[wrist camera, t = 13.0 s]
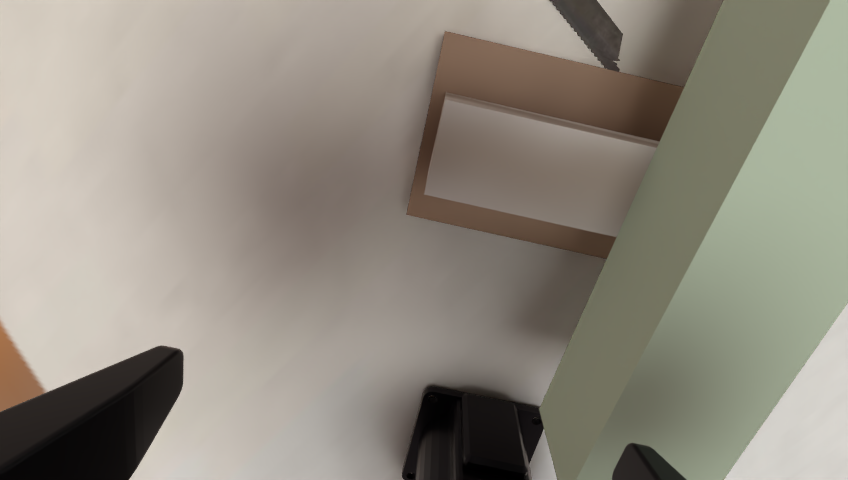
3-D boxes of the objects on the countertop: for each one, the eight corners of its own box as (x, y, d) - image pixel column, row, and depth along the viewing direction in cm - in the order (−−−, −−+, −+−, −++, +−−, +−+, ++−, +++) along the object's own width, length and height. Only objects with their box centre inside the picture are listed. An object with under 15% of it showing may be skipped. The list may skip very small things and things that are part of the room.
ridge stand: (796, 289, 20) (898, 356, 16) (409, 204, 20) (397, 247, 15) (886, 137, 18) (1040, 163, 13) (445, 33, 17) (444, 23, 13)
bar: (636, 433, 18) (687, 532, 14) (539, 409, 17) (563, 503, 14) (946, -111, 11) (1198, -198, 7) (794, -158, 11) (975, -273, 7)
